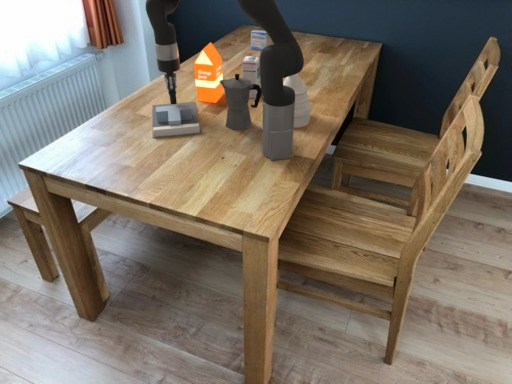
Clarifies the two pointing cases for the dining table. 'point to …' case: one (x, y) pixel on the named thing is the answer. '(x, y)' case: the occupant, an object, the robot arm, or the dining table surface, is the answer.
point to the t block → (174, 114)
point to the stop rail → (176, 130)
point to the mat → (194, 120)
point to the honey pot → (299, 100)
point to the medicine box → (259, 39)
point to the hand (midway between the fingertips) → (173, 103)
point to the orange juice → (208, 75)
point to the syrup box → (251, 72)
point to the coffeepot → (239, 101)
